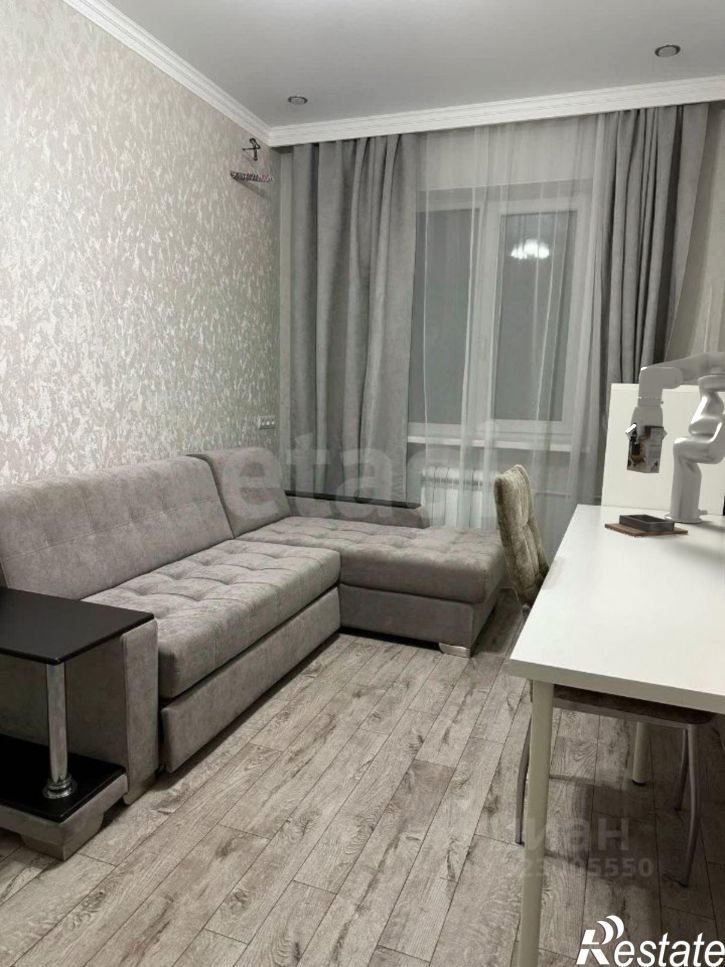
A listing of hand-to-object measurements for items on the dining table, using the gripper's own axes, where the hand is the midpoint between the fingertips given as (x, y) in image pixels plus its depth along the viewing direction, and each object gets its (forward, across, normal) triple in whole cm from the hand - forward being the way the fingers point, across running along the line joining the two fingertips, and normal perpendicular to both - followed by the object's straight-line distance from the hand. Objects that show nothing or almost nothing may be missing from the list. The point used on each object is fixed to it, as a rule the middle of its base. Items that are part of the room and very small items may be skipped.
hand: (644, 455), depth 225 cm
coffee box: (+6, 0, 0) cm, 6 cm away
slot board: (+26, 0, +4) cm, 26 cm away
